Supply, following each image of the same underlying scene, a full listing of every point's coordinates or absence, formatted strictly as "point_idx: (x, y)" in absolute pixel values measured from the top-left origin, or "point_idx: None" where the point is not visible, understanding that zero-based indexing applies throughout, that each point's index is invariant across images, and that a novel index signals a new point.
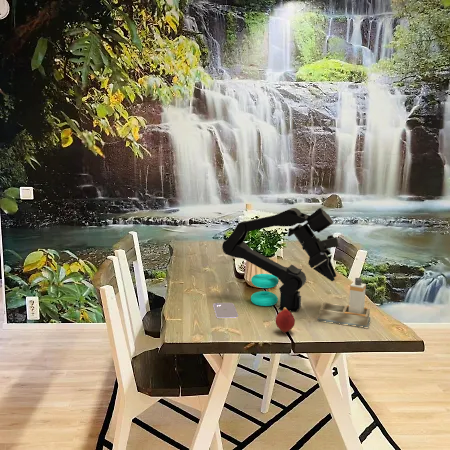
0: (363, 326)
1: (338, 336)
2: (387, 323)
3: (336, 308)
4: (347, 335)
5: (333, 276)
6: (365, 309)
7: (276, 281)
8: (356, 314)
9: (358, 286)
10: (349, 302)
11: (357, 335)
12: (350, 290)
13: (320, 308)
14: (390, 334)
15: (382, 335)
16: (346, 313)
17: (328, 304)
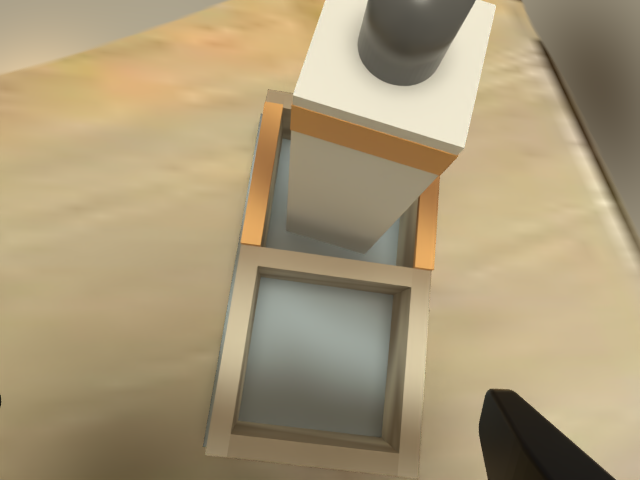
0: None
1: (604, 313)
2: (298, 37)
3: (249, 334)
4: (567, 262)
5: (520, 428)
6: (280, 119)
7: None
8: (438, 185)
9: (483, 51)
10: (397, 217)
11: (543, 208)
12: (437, 171)
13: (382, 474)
14: None
15: (489, 84)
16: (432, 255)
17: (234, 407)
